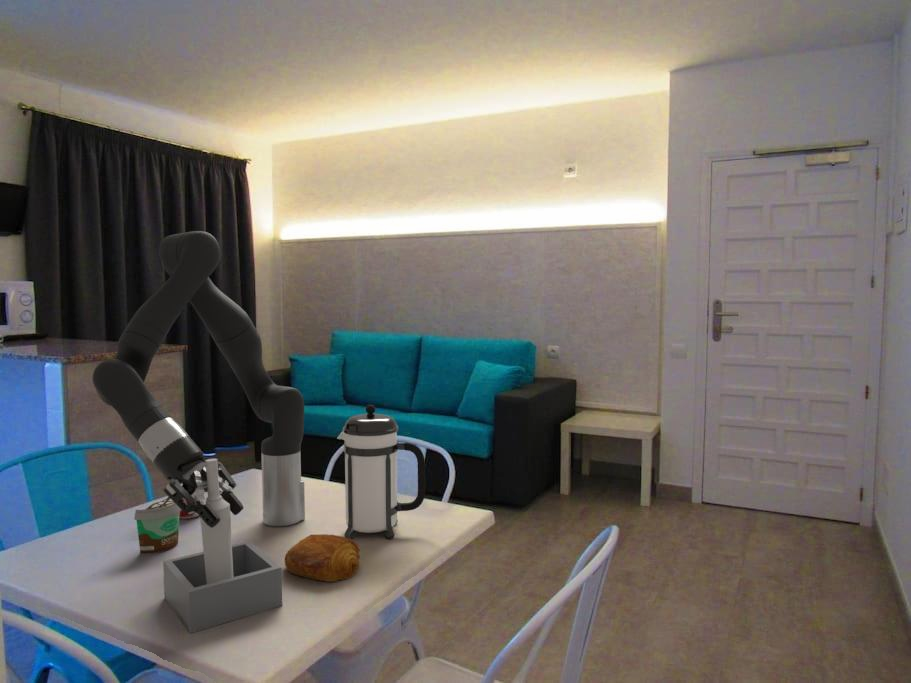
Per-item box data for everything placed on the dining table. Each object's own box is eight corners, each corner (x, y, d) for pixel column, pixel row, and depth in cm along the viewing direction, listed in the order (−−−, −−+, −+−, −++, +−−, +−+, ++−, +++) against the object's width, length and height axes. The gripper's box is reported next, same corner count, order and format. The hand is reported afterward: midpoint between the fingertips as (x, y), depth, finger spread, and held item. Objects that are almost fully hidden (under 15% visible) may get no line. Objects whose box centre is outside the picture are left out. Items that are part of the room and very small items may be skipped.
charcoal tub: (249, 575, 133) (248, 541, 132) (282, 605, 120) (281, 567, 119) (164, 598, 123) (163, 561, 122) (190, 633, 110) (188, 592, 110)
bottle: (242, 590, 123) (232, 456, 121) (223, 603, 118) (213, 464, 117) (218, 587, 125) (209, 456, 123) (199, 600, 120) (189, 463, 118)
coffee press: (365, 549, 146) (363, 413, 143) (327, 529, 158) (325, 404, 155) (427, 530, 157) (426, 404, 155) (387, 513, 169) (386, 396, 167)
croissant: (330, 601, 126) (333, 562, 125) (271, 573, 134) (273, 536, 133) (376, 572, 139) (380, 536, 137) (320, 547, 146) (322, 513, 145)
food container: (161, 558, 141) (159, 512, 140) (135, 556, 142) (133, 510, 142) (195, 537, 153) (193, 494, 152) (171, 535, 154) (169, 493, 154)
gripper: (154, 443, 114) (215, 518, 112) (207, 427, 128) (263, 492, 126) (130, 472, 116) (189, 545, 114) (185, 452, 130) (239, 517, 128)
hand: (228, 517), depth 120 cm, fingers open, 6 cm apart
